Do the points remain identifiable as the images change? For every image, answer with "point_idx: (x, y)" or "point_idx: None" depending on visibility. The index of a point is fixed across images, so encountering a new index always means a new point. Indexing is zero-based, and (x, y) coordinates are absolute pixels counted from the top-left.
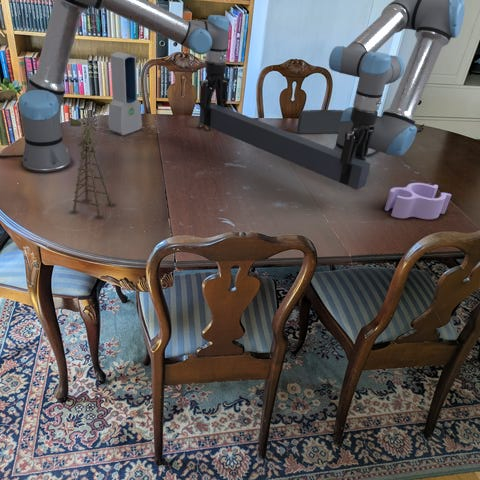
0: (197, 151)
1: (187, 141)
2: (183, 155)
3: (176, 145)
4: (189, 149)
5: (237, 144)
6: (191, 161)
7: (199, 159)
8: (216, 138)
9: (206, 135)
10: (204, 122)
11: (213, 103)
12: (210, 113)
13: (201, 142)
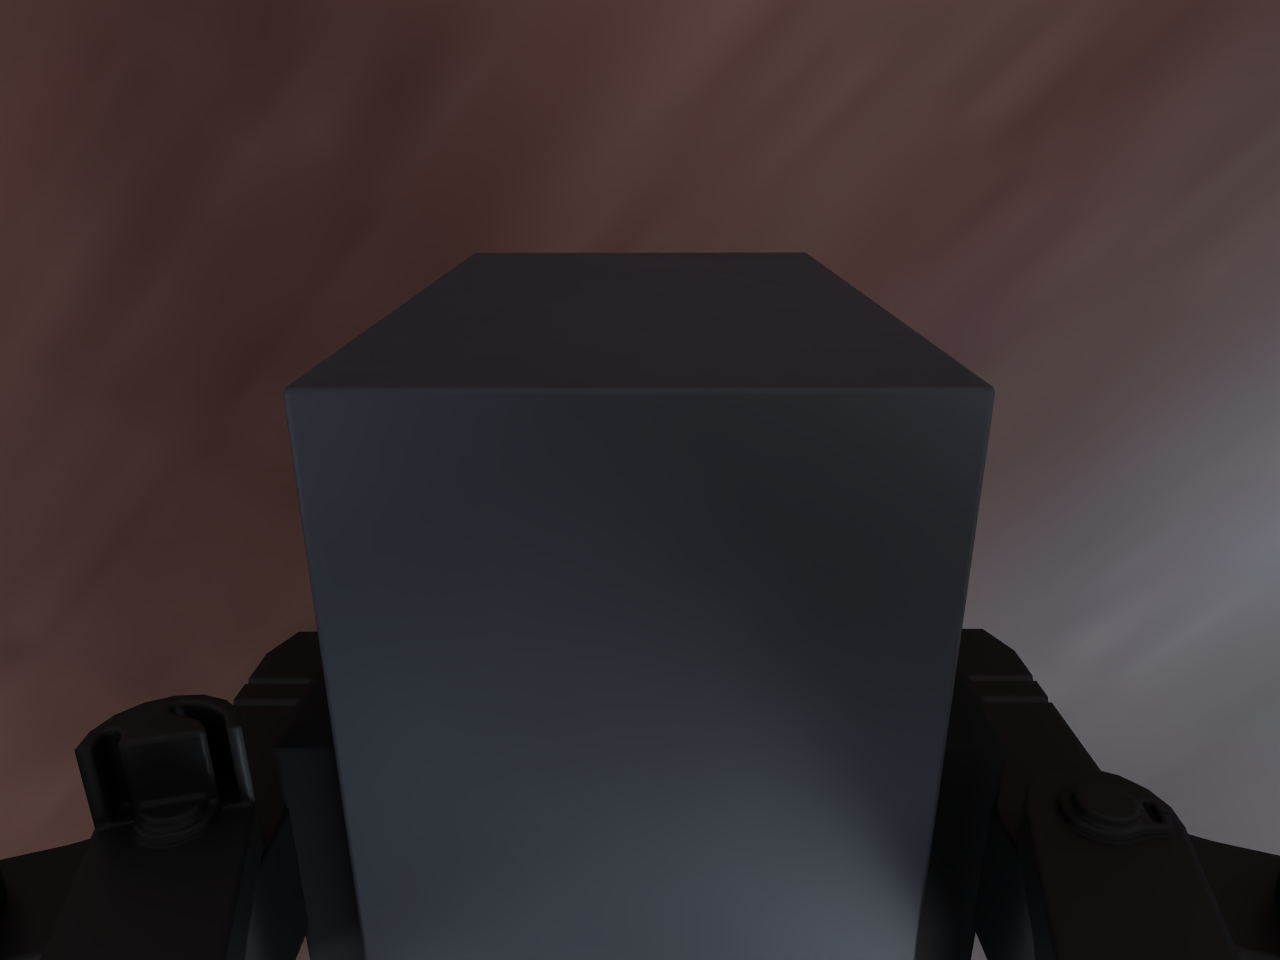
0: (283, 483)
1: (387, 56)
2: (8, 478)
3: (99, 95)
4: (214, 359)
5: (989, 615)
6: (16, 675)
7: (150, 686)
8: (933, 252)
9: (905, 22)
10: None
11: (920, 706)
12: None
13: (577, 242)
